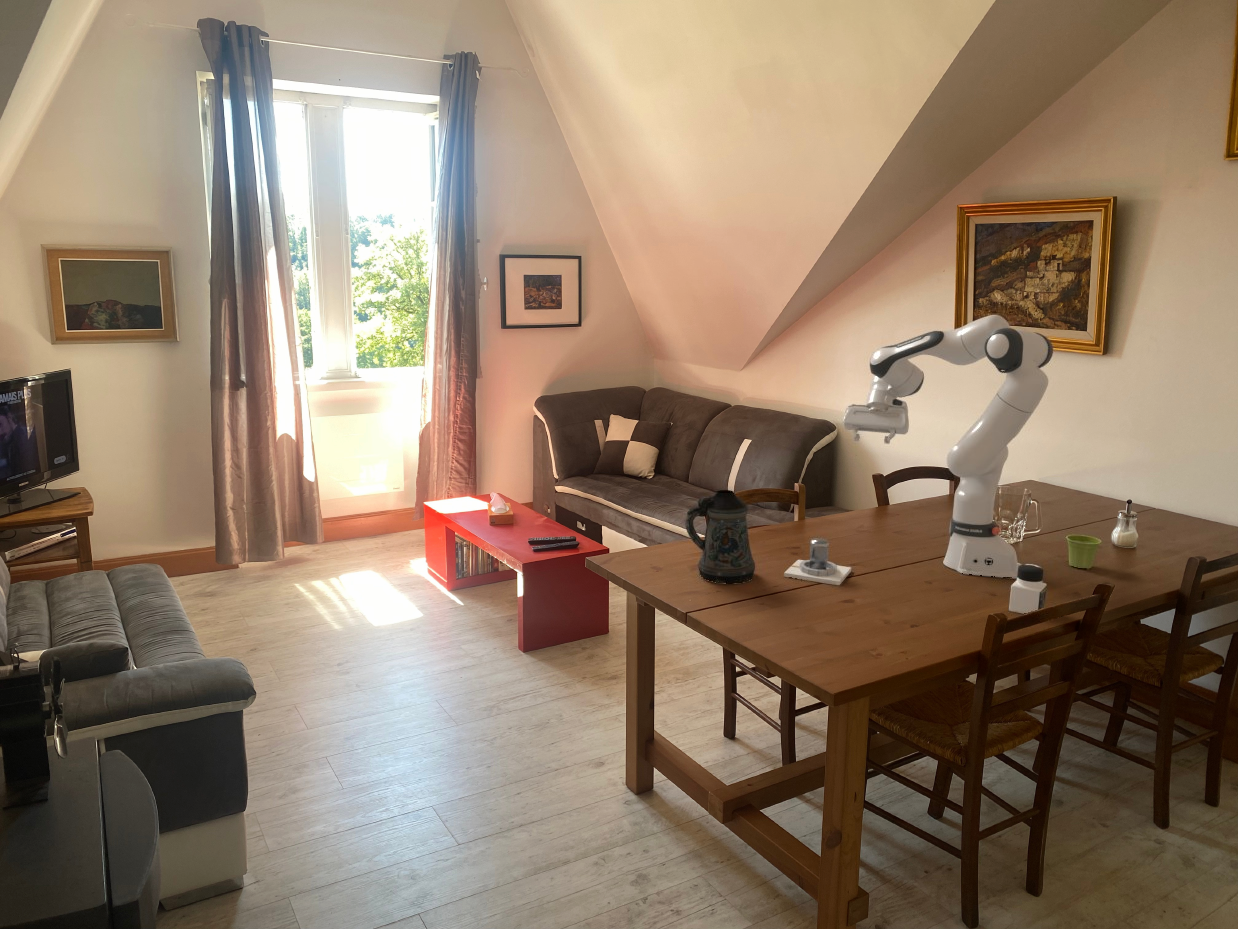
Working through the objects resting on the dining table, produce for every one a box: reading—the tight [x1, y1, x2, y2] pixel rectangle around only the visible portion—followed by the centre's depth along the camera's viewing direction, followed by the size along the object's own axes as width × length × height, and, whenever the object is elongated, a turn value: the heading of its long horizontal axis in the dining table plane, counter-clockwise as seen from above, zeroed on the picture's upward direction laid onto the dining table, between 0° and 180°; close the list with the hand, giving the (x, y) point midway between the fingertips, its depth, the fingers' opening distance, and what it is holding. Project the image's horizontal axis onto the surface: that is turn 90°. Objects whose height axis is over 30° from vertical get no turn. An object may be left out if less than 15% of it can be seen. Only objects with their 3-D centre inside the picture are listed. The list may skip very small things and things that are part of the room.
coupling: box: [809, 537, 830, 570], centre depth 262 cm, size 5×5×9 cm
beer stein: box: [684, 489, 756, 585], centre depth 258 cm, size 16×19×25 cm
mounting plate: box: [783, 559, 852, 586], centre depth 263 cm, size 16×14×3 cm
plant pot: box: [1065, 534, 1102, 568], centre depth 270 cm, size 9×9×9 cm
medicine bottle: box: [1008, 563, 1047, 615], centre depth 234 cm, size 7×7×12 cm
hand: (871, 441), depth 283 cm, fingers open, 8 cm apart
